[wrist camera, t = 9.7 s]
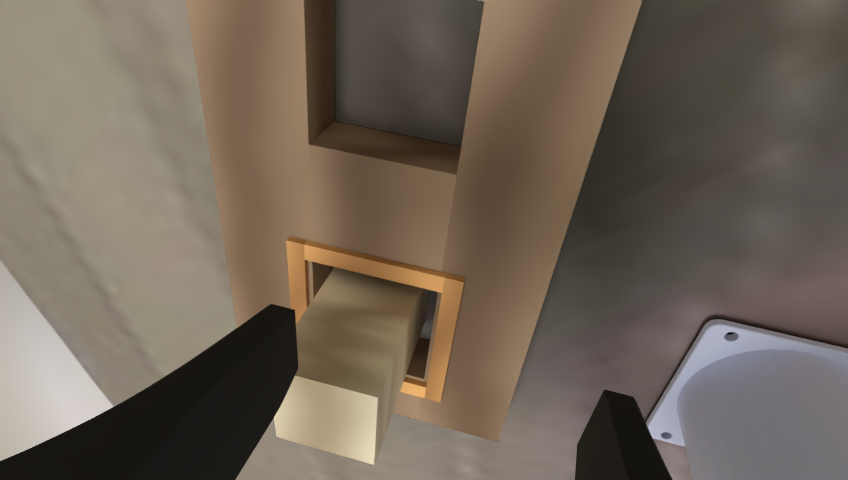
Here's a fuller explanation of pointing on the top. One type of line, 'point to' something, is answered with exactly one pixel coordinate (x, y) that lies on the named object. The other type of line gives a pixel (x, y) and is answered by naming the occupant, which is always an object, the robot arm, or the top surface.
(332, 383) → the peg
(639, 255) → the top surface
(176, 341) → the top surface
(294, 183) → the wooden peg tray
